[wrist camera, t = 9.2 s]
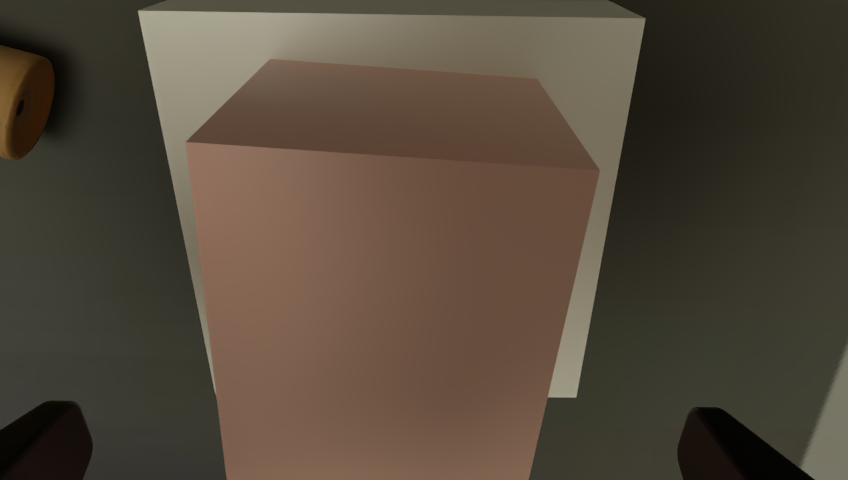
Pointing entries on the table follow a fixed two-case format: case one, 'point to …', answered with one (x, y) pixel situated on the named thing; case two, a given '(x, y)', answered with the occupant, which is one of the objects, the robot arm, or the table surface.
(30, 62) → the kendama
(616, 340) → the table surface
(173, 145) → the white foam block
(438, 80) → the coral brick
